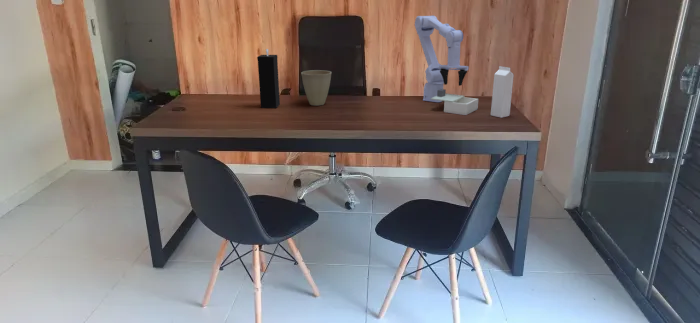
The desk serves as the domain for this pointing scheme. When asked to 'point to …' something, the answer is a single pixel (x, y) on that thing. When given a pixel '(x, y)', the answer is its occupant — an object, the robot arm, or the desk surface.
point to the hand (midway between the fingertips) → (452, 84)
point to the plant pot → (316, 85)
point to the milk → (502, 92)
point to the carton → (461, 106)
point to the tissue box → (268, 80)
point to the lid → (446, 96)
